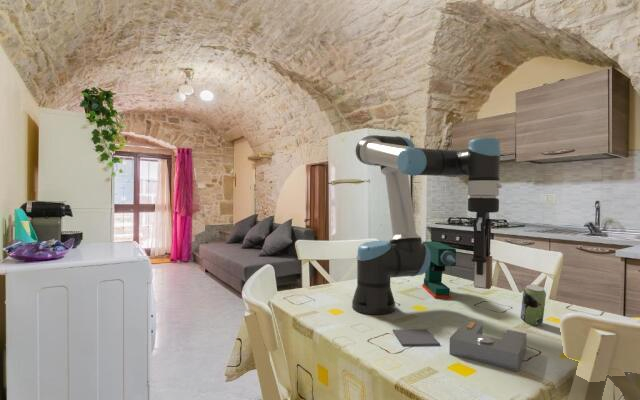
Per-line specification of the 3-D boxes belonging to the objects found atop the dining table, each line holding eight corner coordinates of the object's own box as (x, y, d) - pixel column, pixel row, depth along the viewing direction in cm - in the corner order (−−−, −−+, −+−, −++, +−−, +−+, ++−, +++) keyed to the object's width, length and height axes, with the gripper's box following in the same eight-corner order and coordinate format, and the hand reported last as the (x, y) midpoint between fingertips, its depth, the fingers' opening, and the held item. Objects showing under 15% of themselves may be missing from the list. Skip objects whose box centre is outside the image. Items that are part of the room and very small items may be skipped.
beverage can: (532, 319, 115) (533, 282, 115) (551, 327, 107) (551, 288, 107) (515, 320, 114) (515, 283, 113) (532, 328, 106) (533, 289, 106)
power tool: (466, 310, 124) (467, 253, 123) (446, 309, 124) (447, 252, 124) (438, 286, 156) (438, 241, 155) (422, 286, 156) (422, 241, 155)
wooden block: (476, 284, 96) (476, 255, 96) (492, 286, 94) (492, 256, 94) (473, 287, 93) (473, 257, 93) (490, 289, 91) (490, 258, 91)
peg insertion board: (518, 372, 79) (518, 351, 79) (449, 353, 88) (449, 335, 88) (526, 348, 91) (526, 331, 91) (465, 335, 100) (465, 318, 100)
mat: (402, 347, 92) (402, 343, 92) (392, 333, 102) (392, 329, 102) (439, 347, 93) (439, 343, 93) (426, 332, 103) (426, 329, 103)
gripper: (494, 197, 84) (492, 294, 85) (502, 197, 99) (501, 280, 99) (461, 197, 88) (459, 289, 89) (473, 196, 103) (472, 276, 103)
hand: (481, 284), depth 94 cm, fingers closed on wooden block, 4 cm apart
